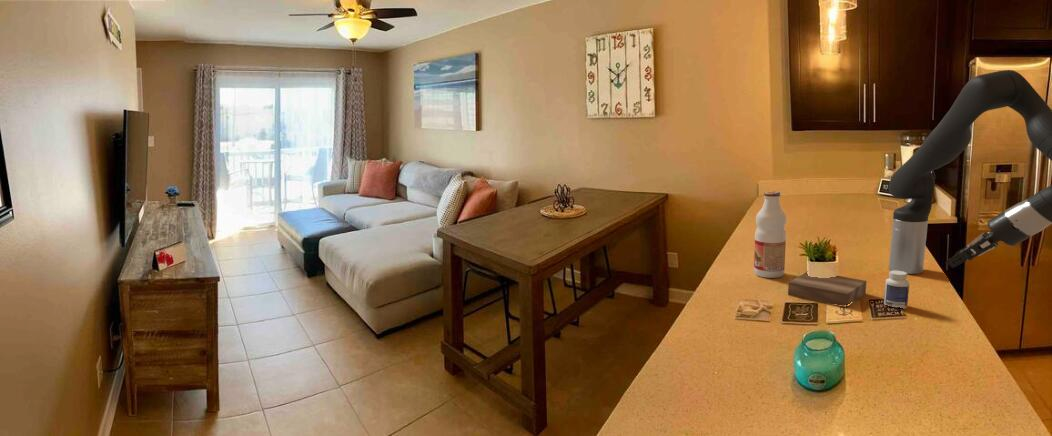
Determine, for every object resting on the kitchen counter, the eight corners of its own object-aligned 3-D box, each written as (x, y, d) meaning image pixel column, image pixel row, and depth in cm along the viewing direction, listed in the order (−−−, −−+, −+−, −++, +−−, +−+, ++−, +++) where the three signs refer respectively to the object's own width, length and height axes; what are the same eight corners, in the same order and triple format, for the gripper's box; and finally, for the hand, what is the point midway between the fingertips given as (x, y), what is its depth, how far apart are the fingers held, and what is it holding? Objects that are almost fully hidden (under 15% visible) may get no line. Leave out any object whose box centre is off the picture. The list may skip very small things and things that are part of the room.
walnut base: (808, 282, 170) (809, 270, 169) (865, 293, 158) (866, 280, 158) (787, 294, 161) (788, 282, 160) (846, 307, 149) (847, 294, 148)
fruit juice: (777, 280, 174) (781, 195, 168) (748, 275, 180) (751, 193, 175) (788, 273, 180) (792, 191, 174) (760, 268, 187) (763, 189, 181)
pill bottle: (911, 310, 145) (914, 275, 143) (888, 309, 146) (891, 275, 144) (901, 302, 150) (904, 269, 148) (880, 302, 151) (883, 269, 149)
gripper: (1011, 205, 132) (948, 243, 143) (1000, 215, 123) (934, 255, 133) (1038, 229, 129) (971, 266, 140) (1029, 240, 120) (958, 279, 131)
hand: (953, 260), depth 137 cm, fingers open, 8 cm apart
